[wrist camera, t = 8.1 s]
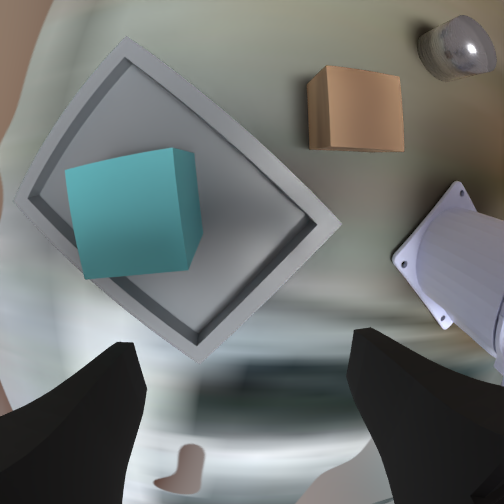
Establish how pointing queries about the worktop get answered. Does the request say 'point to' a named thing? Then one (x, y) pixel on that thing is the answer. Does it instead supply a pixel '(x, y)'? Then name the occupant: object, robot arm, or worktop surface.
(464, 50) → the shiny silver metal cylinder
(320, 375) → the worktop surface
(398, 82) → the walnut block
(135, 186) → the teal block
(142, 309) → the grey tray
